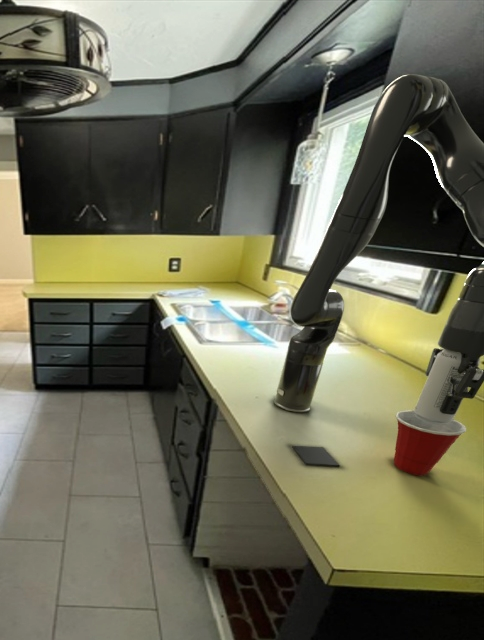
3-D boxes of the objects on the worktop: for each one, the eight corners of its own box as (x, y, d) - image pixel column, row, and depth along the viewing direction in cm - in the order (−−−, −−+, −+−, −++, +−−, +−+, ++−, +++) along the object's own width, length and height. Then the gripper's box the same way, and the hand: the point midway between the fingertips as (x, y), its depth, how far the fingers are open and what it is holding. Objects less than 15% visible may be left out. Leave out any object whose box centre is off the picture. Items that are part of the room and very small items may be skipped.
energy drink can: (436, 413, 77) (466, 346, 71) (459, 427, 72) (493, 355, 66) (405, 411, 78) (432, 344, 72) (425, 425, 73) (456, 354, 67)
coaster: (292, 447, 86) (292, 445, 86) (322, 448, 86) (323, 447, 86) (306, 464, 80) (306, 463, 80) (339, 466, 80) (339, 465, 79)
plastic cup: (387, 447, 87) (405, 402, 82) (447, 470, 79) (472, 422, 74) (370, 463, 81) (389, 416, 76) (434, 490, 73) (459, 439, 68)
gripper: (528, 337, 60) (483, 426, 66) (476, 318, 72) (442, 394, 79) (470, 333, 62) (432, 419, 69) (430, 315, 74) (401, 389, 81)
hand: (438, 405), depth 74 cm, fingers closed on energy drink can, 6 cm apart
